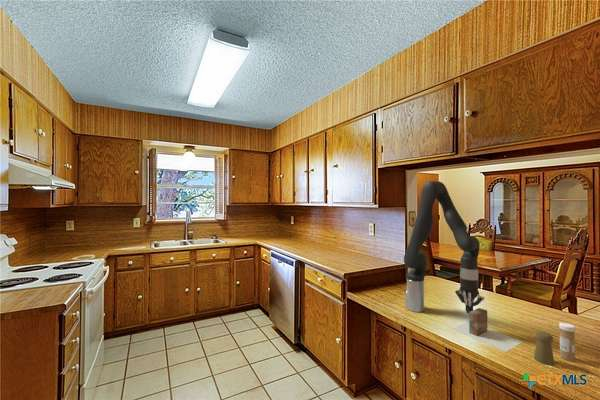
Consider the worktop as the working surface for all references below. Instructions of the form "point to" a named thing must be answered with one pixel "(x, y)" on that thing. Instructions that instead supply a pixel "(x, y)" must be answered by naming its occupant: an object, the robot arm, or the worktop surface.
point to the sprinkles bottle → (567, 341)
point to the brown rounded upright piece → (544, 348)
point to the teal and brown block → (478, 321)
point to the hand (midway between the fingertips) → (469, 313)
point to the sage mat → (490, 338)
